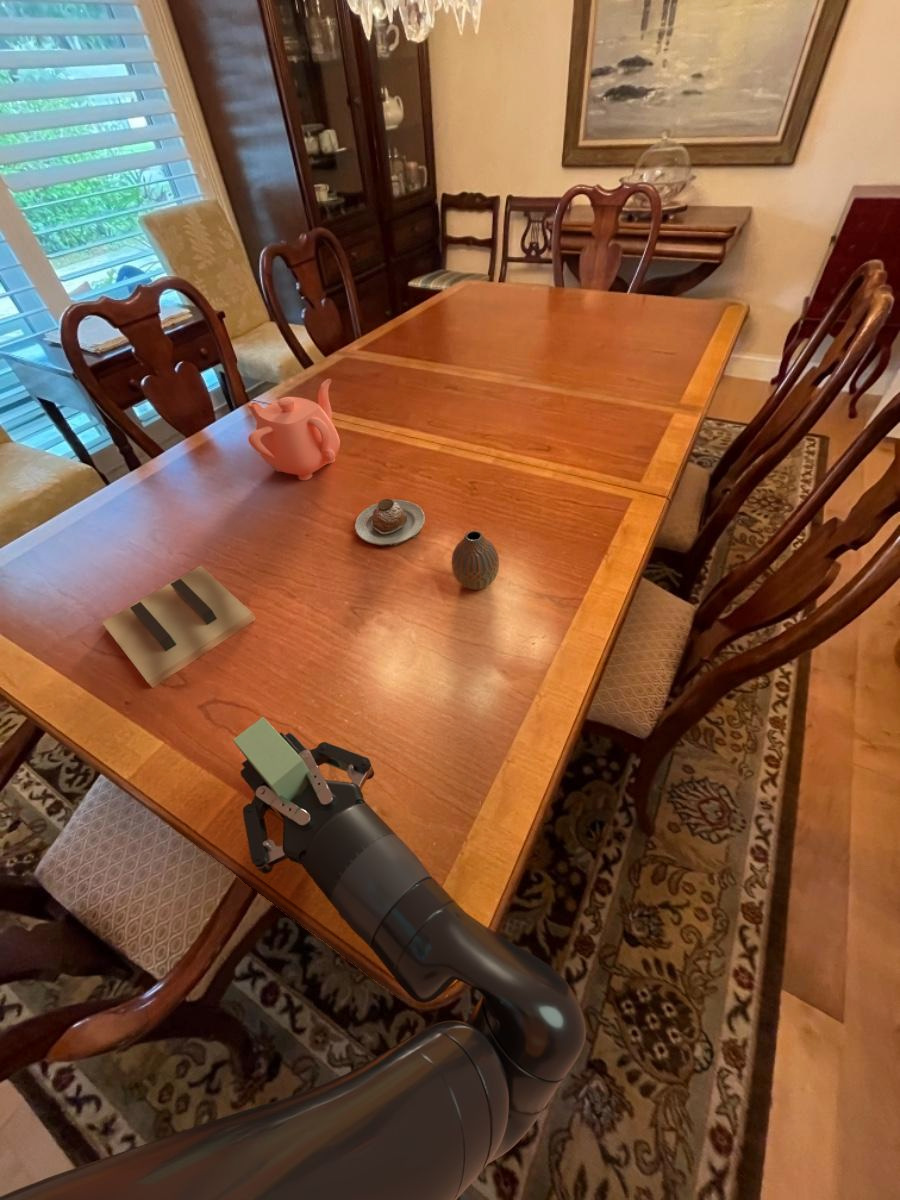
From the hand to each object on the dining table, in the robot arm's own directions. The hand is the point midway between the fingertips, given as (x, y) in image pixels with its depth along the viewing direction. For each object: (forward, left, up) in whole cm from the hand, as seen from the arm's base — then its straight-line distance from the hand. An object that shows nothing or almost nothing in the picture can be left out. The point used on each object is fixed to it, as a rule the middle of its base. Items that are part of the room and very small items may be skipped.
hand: (264, 752), depth 55 cm
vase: (+36, +12, -7) cm, 39 cm away
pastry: (+33, +32, -7) cm, 47 cm away
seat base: (-3, +33, -7) cm, 34 cm away
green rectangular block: (0, -3, -7) cm, 8 cm away
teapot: (+31, +62, -7) cm, 70 cm away
